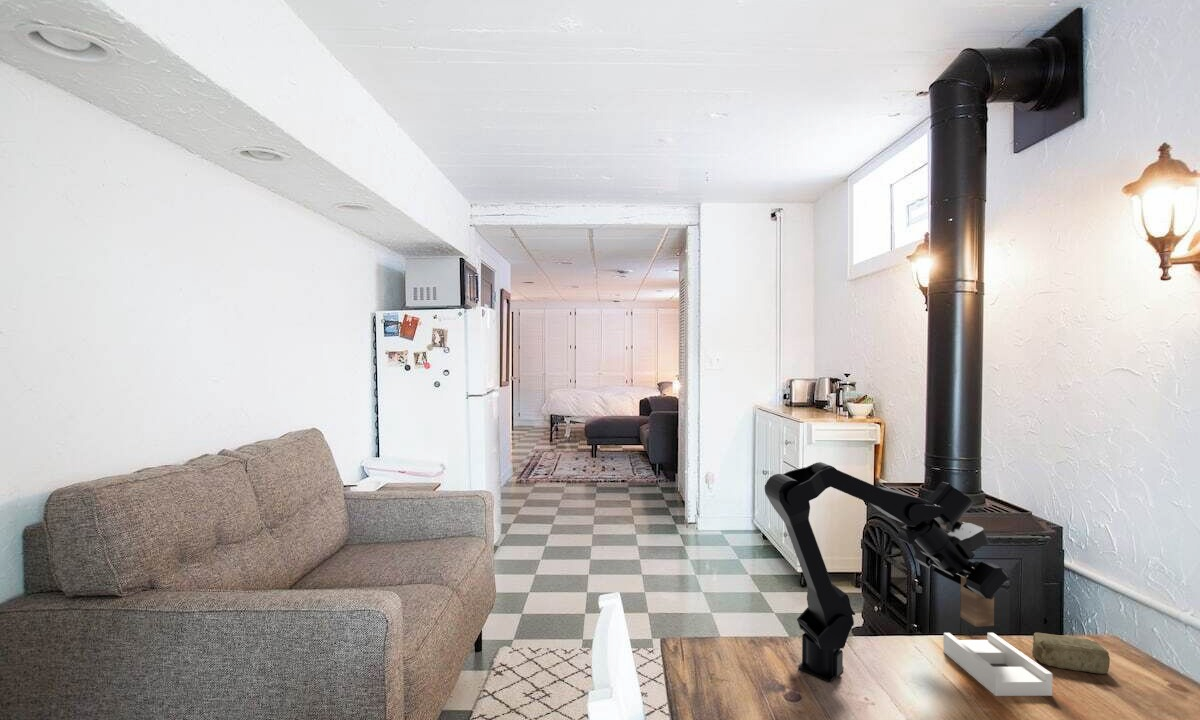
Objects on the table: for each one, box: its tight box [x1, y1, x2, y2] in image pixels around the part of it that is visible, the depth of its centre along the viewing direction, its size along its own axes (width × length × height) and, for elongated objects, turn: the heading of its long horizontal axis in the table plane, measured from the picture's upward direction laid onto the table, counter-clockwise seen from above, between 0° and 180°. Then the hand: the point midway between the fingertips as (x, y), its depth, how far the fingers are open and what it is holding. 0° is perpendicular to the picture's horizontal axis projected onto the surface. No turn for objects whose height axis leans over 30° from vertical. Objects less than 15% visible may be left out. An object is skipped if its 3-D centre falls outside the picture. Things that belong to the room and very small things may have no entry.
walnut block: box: [959, 567, 995, 628], centre depth 114 cm, size 4×4×11 cm
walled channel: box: [942, 632, 1053, 697], centre depth 109 cm, size 10×15×4 cm
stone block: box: [1031, 631, 1111, 675], centre depth 112 cm, size 6×12×5 cm, turn 72°
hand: (983, 593), depth 114 cm, fingers closed on walnut block, 4 cm apart
